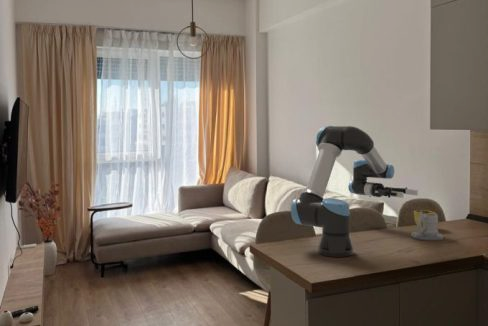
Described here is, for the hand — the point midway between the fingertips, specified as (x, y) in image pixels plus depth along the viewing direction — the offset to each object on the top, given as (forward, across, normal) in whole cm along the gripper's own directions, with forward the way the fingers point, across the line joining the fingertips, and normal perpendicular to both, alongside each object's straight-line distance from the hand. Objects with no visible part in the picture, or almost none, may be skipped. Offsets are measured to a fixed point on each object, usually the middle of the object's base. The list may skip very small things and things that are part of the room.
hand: (410, 193), depth 235 cm
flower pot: (-1, -16, -20) cm, 26 cm away
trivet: (+10, 0, -21) cm, 23 cm away
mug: (+10, 0, -20) cm, 22 cm away
